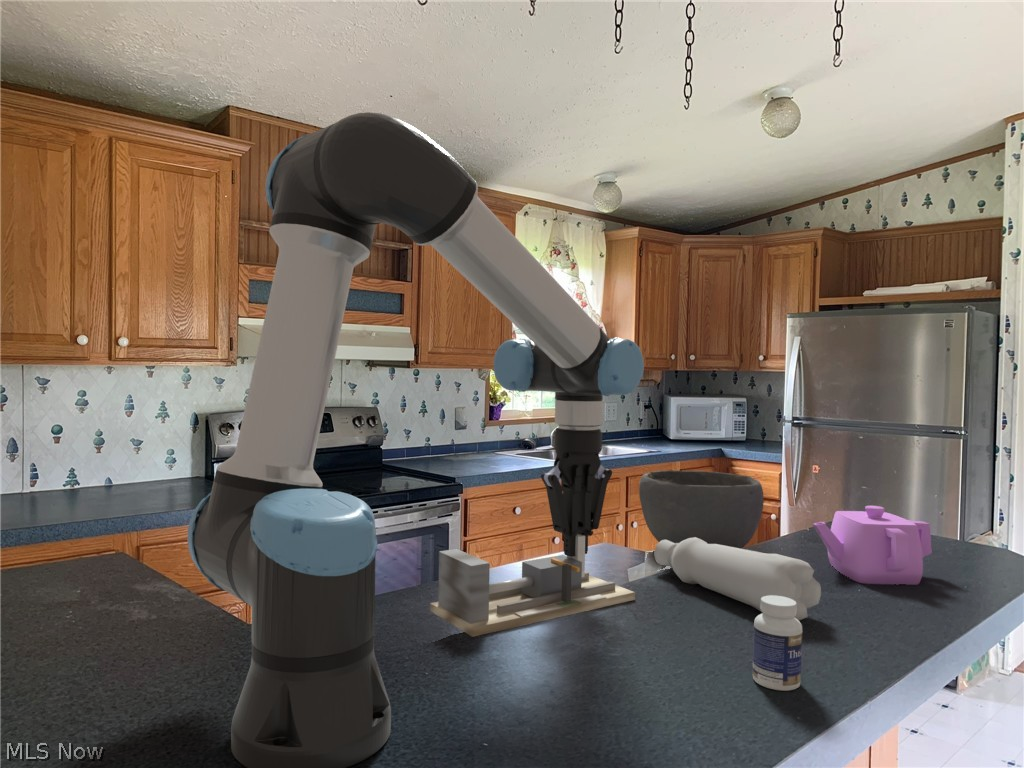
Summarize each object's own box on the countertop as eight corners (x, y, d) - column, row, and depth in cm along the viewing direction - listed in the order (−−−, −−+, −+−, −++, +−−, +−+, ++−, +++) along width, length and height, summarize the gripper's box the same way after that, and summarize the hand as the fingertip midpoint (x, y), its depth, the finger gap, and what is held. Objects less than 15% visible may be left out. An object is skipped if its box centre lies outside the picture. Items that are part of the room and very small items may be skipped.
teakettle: (908, 594, 122) (910, 520, 122) (806, 572, 134) (808, 505, 134) (938, 575, 134) (940, 507, 134) (842, 556, 146) (844, 494, 146)
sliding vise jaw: (598, 599, 112) (599, 564, 111) (511, 618, 103) (511, 580, 102) (562, 584, 119) (562, 551, 119) (477, 601, 110) (478, 565, 110)
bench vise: (634, 599, 117) (636, 542, 116) (472, 636, 99) (474, 569, 99) (585, 580, 126) (586, 527, 126) (430, 611, 109) (431, 549, 109)
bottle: (833, 595, 110) (690, 555, 136) (810, 548, 108) (669, 516, 133) (799, 638, 106) (658, 588, 132) (775, 590, 104) (636, 549, 130)
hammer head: (570, 601, 109) (571, 565, 109) (566, 602, 109) (567, 566, 109) (565, 599, 110) (566, 563, 110) (561, 600, 110) (562, 564, 110)
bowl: (654, 531, 165) (656, 464, 164) (769, 545, 154) (771, 473, 154) (621, 556, 143) (623, 479, 142) (752, 574, 132) (754, 491, 132)
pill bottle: (795, 696, 83) (798, 611, 83) (747, 684, 86) (749, 602, 86) (804, 679, 88) (807, 598, 88) (758, 669, 91) (761, 590, 90)
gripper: (593, 424, 123) (591, 564, 124) (531, 426, 116) (528, 575, 117) (625, 427, 117) (622, 575, 118) (560, 430, 110) (557, 588, 110)
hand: (575, 575), depth 117 cm, fingers closed
